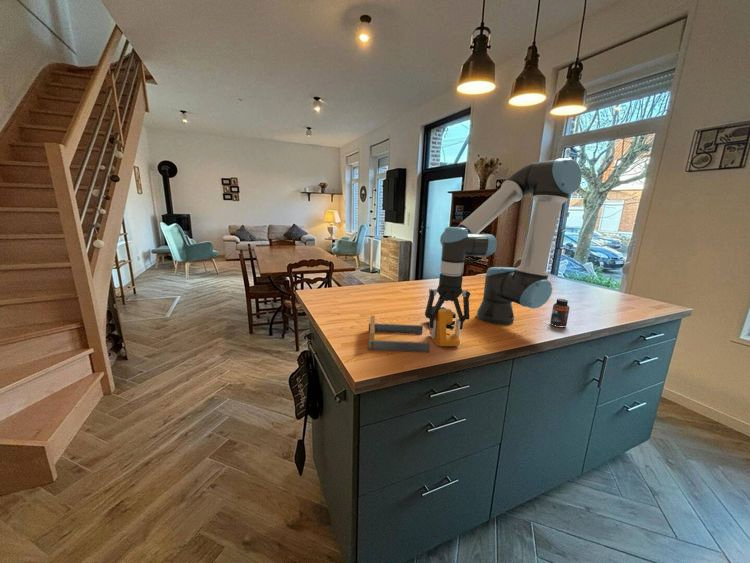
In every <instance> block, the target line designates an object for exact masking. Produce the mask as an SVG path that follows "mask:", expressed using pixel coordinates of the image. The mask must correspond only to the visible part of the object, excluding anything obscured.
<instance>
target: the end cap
mask: <svg viewBox="0 0 750 563" xmlns="http://www.w3.org/2000/svg"><path fill="white" fill-rule="evenodd" d="M434 307H435V305H432V308H431V312H432V311H433V309H434ZM440 309H447V307H442V306H441V308H440ZM431 312H430V314H431ZM452 315H453V319H457V313H455V312H453V311H452ZM455 326H456V320H452V323H451V324H447V325H446V329H450V330H452V329H454V328H455Z"/></svg>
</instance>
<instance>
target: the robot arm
mask: <svg viewBox="0 0 750 563" xmlns="http://www.w3.org/2000/svg"><path fill="white" fill-rule="evenodd" d="M582 174H583V173H582V169H581V167H580V164H579V163H578V162H577V161H576V160H575V159H573V158H570V157H569V158H568V157H566V158H556V159H552V160H550V159H549V160H544V161H539V162H538V161H536V162H531V163H529V164H527V165H524V166H523V167H522V168H519V169H518V170H517V171H515V172H514V173H513V174H511V175H510V176H509V177H508V178H506V179H505V180H504V181H503V182H502V183H501V185H500V188H499V189H498V190H497V191H496V192H494V193H493V194H492V195H491V196H490V197H489V198H487V200H485V201H484V202H483V203H482V204H481V205H480V206H478V207H477V208H476V209H475V210H474V211H473V212H471V214H470V215H469V216H467V217H466V218H465V219H463V221H461V222H460V223H458V225H457V226H448V227H445V228H444V231H443V232H442V234H441V235H440V238H439V242H440V244H441V247H442V248H441V259H440V260H441V261H440V269H439V271H440V274H439V280H438V287H436V288H433V289H432V288H429V290H428V294H429V296H428V299H427V304H426V307H425V312H424V316H425V317H426V319H429V322H428V323H429V324H428V326H429V329H430V328H432V331H431V334H430V335H431V339H432V338H435V329H436V319H435V317H436V315H437V313H438V310H439V309H440V308H441V307H442V306H443V304H444V303H445V302H448V301H449V302H453V304H454V307H455V309H456V310H455V311H456V315H457V316H458V318H455V319H456V320H455V326H454V328H455V329H454V334H455V335H456V336H457V337H458V338H459V339H460V331H461V330H463V326H464V322H465V321H466V320H467V321H468V320H470V301H469V300H470V296H471V291H469V290H466V289H464V290H463V288H462V287H463V279H464V278H463V274H464V268H465V267H464V266H465V260H466V257H486V256H492V255H493V254H494V253H495V252H496V250H497V246H498V240H497V238H496V237H495V235H493V234H491V233H481V232H482V231H483V230H484V229H485V228H486V227H488V226H489V225H490V224H491V223H492V222H493V221H494V220H495V219H497V218H498V217H499V216H500V215H501V214H503V212H504V211H505V210H507V209H508V208H509V207H510V206H511V205H512V204H513V203H515V202H519V201H521V200H522V199H523V198H524V197H527V196H531V195H532V196H531V198H532V199H533V201H534V207H533V211H532V215H531V220H530V224H529V228H528V233H527V236H526V240H525V245H524V248H523V253H522V257H521V261H520V264H519V266H517V267H512V266H511V267H509V266H493V267H492V266H491V267H489V268H487V270H486V274H485V279H484V288H483V297H482V301H481V303H480V306H479V307H478V309H477V312H476V318H477V319H478V320H480V321H482V322H484V323H487V324H492V325H500V326H508V325H512V324H513V323H514V321H515V315H514V310H513V304H512V303H515V304H517V305H519V306H522V307H525V308H530V309H539V308H541V307H542V306H544V305H545V304H546V303H547V302H548V300H550V298H551V295H552V293H553V286H552V282H551V281H549V280H548V277H549V273H548V272H547V271H546V268H547V265H548V260H549V256H550V252H551V249H552V243H553V241H554V236H555V232H556V229H557V224H558V221H559V217H560V214H561V209H562V205H563V204H564V203H566V202H568V201H569V197H570V194H573V193H575V192H576V191H577V190H578V189H579V187H580V186H581V183H582V177H583V175H582ZM437 293H438V295H439V297H438V300H436V303H435V305H433V304H434V300H435V296H436V295H437ZM461 295H462V300H463V311H462V309H461V305H460V301H459V299H458V298H459V297H460V296H461ZM432 306H435V307H434V309H433V311H432V312H431V308H432ZM430 312H431V314H430Z"/></svg>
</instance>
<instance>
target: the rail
mask: <svg viewBox="0 0 750 563" xmlns="http://www.w3.org/2000/svg"><path fill="white" fill-rule="evenodd" d="M423 328H424V326H423V325H421V324H420V325H419V324H399V323H398V324H397V323H396V324H394V323H376V318H375V315H370V321H369V322H368V333H369V339H367V351H381V352H382V351H386V352H387V351H388V352H411V353H415V352H416V353H430V349H431V348H430V345H431V343H430V342H427V341H426V342H425V341H423V342H421V341H403V340H402V341H398V340H380V339H379V340H378V339H377V340H376V339H375V333H389V334H395V333H396V334H411V335H412V334H414V335H415V334H417V335H418V334H419V335H422V334H423Z"/></svg>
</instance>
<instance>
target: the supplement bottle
mask: <svg viewBox="0 0 750 563" xmlns="http://www.w3.org/2000/svg"><path fill="white" fill-rule="evenodd" d="M569 313H570V306H569V300H567V299H564V298H557V299H556V302H555V303H553V305H552V310H551V314H550V315H551V316H550V321H549V324H550V323H551V324H553V325H556V326H566V327H567V325H568V324H567V323H568V318H569ZM551 324H550V325H551ZM553 325H552V326H553Z"/></svg>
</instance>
